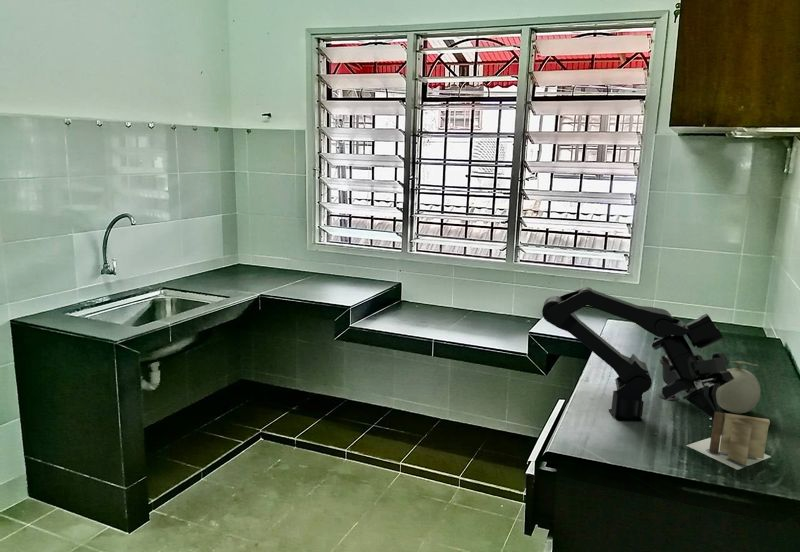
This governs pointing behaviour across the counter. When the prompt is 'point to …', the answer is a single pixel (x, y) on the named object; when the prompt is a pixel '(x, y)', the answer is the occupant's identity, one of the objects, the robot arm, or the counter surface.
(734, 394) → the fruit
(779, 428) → the counter surface
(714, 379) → the robot arm
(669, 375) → the sundae
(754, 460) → the card
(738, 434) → the wooden plank
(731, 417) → the fence panel
